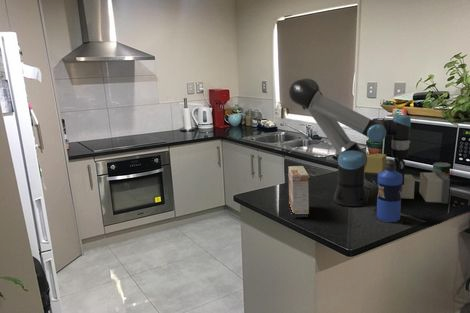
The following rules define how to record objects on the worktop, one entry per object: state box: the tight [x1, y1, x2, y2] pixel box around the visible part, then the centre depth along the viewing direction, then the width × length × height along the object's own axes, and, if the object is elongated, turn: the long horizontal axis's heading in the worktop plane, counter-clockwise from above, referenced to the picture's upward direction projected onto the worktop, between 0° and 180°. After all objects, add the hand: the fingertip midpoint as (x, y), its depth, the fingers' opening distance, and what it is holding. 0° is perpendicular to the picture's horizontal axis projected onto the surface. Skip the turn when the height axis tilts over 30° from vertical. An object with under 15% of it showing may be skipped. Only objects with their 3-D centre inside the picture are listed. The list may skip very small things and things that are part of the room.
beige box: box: [401, 174, 416, 200], centre depth 176 cm, size 9×6×10 cm
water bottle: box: [376, 159, 403, 223], centre depth 150 cm, size 9×9×25 cm
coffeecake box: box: [288, 165, 310, 215], centre depth 163 cm, size 15×7×20 cm, turn 178°
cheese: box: [364, 153, 387, 174], centre depth 221 cm, size 10×11×10 cm
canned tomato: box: [432, 161, 451, 179], centre depth 190 cm, size 8×8×11 cm
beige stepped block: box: [418, 170, 451, 204], centre depth 173 cm, size 9×16×11 cm, turn 166°
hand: (397, 195), depth 178 cm, fingers closed on beige box, 6 cm apart
